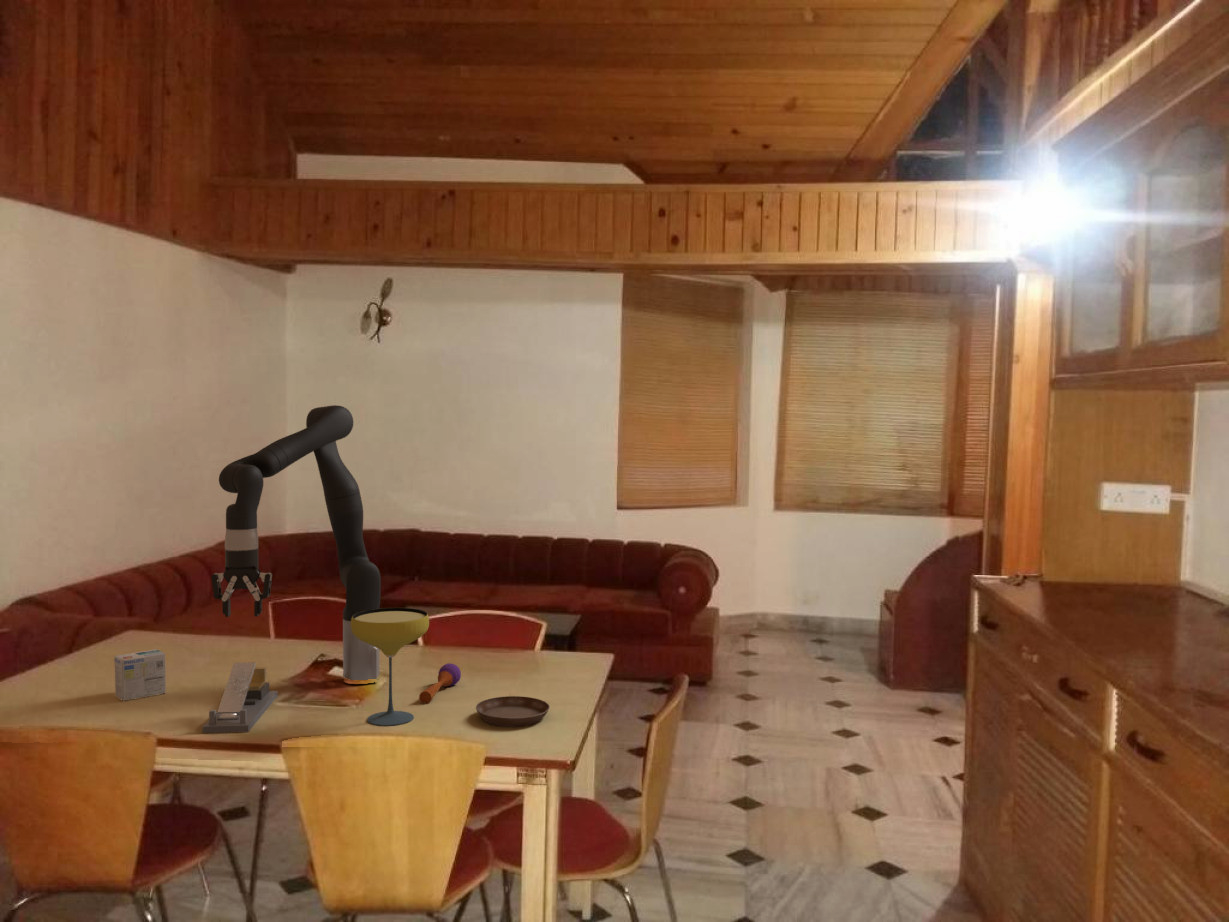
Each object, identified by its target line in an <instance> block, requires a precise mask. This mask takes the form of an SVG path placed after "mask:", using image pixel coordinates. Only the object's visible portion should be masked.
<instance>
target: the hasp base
mask: <svg viewBox="0 0 1229 922" xmlns="http://www.w3.org/2000/svg"><path fill="white" fill-rule="evenodd" d="M277 698H278V690H270V682H266V681H265V685H264V686H263V687H262V688H261V689H260V690H258V691H248V692H247V695H246V699H245V702H244V705H243V708H242V709H241V710H240V715H239V718H238V720H222V721H217V712H218V710H216V709H210V710H209V711H208V720H207V721H206V722H205V723H204V724H203V726H202V734H215V733H216V734H218V733H219V734H220V733H223V734H224V733H248V732H249V731H251V729H252V728H253V727H254V725H256V723H257V722H258V721H259V720H260V718H261V717H262V716H263V715H264V714H265V713H266V711H267V710H268V709H269V708H270V706H271V705H272V704H273V702H275V700H276V699H277Z"/></svg>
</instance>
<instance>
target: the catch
mask: <svg viewBox="0 0 1229 922" xmlns="http://www.w3.org/2000/svg"><path fill="white" fill-rule="evenodd" d="M266 679H267V667H266V666H264V667H262V666H261V667H259V666H257V667H256V666H255V669H254V673H253V676H252V679H251V682H250V686H249V689H248V691H258V690H260V689H261V688H262V687H263V686H264V685H265V682H266Z"/></svg>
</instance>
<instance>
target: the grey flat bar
mask: <svg viewBox="0 0 1229 922" xmlns="http://www.w3.org/2000/svg"><path fill="white" fill-rule="evenodd" d="M256 666H257V665H256V662H255V661H254V662H250V661H249V662H246V661H245V662H233V665H232V666H231V667H232V668H231V670H230V673H229V676H228V680H227V682H226V685H225V688H224V691H223V694H222V697H221V700H220V703H219V706H218V709H217V711H218V712H217V711H216V712H217V721H222V720H238V718H239V715H240V710H241V709H242V708H243V705H244V702H245V699H246V695H247V692H248V689H249V686H250V682H251V679H252V676H253V673H254V669H255V667H256Z"/></svg>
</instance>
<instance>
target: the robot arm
mask: <svg viewBox="0 0 1229 922" xmlns="http://www.w3.org/2000/svg"><path fill="white" fill-rule="evenodd" d="M305 426H306V427H305V428H303V429H301V430H299V431H297V432H295V433H291V434H289V435H286V436H284V437H282V438H279V439H276V440H275V441H273V442H271V443H270V444H268V445H266V446H265V447H263V448H261V449H260V450H258V451H257V452H255V453H252V454H250V455H247V456H245V457H242V458H240V459H236V460H234V461H231V462H230V463H228V464H227V465H226V466H225V467H223V469H222V470H221V471H220V473H219V477H218V483H219V486H220V488H221V489H222V490H223V491H225V492H226V493H227V492H228V493H230V494H236V499H235V502H234V503H231V504H230V505H228V506H227V507H226V510H225V533H224V534H225V535H224V561H225V562H224V567H225V568H224V571H223V572H220V573H218V572H215V573H213V574H212V575H211V576H210V577H211V585H212V592H213V598H214V599H215V600H217V599H218V600H220V601H221V602H222V614H223V615H224V617H226V618H228V617H230V616H232V615H231V614H232V613H231V612H232V609H231V607H232V606H231V605H232V604H231V602H232V601H231V599H230V598H231V597H232V595H233V592H234V591H235V590H248V591H249V592H250V594H251V595H252V596H253V598H254V601H253V602H254V603H253V605H254V606H253V609H254V611H253V612H254V617H258V616H260V614H262V612H263V601H264V599H267V598H269V597H270V596H271V590H272V581H273V573H272V572H271V571H269V572H261V571H260V568H259V564H260V563H259V561H260V560H259V533H258V532H259V531H258V508H259V505H260V501H261V497H262V493H263V489H264V479H267V478H272V477H273V476H276V475H277V474H279V473H280V472H282V471H283V470H285V469H286V468H288V467H289V466H292V465H293V464H294V463H295V462H298V461H299V460H300V459H302V458H304V457H306V456H307V455H309V454H311V453H313V454H314V456H315V460H316V464H317V468H318V472H319V476H320V480H321V481H320V482H321V485H322V490H323V495H324V502H325V506H326V510H327V514H328V517H329V522H330V526H331V530H332V533H333V537H334V541H335V544H336V548H337V549H336V550H337V559H338V568H339V579H340V581H341V583H342V585H343V586H344V588H345V604H344V605H345V606H344V608H343V610H342V666H343V667H342V669H343V671H342V678H343V677H345V678H347V679H350V680H368V679H377V677H378V675H379V676H380V649H379V648H377V647H375V646H372V645H370V644H368V643H365V642H363V641H361V640H360V639H358V638H357V637H356V636H355V635H354V634H353V633H352V629H351V619H352V616H353V615H354V614H356V613H359V612H362V611H366V610H372V609H381V608H380V606H381V594H382V593H381V591H382V590H381V589H382V588H381V587H382V585H381V584H382V581H381V580H382V578H381V572H380V570H379V568H378V567H377V565H376V564H374V563H373V562H372V561H370V559H369V556H368V554H367V549H366V545H365V541H364V537H363V536H364V534H363V532H364V531H363V530H364V506H363V500H362V497H361V492H360V488H359V485H358V482H357V480H356V479H355V477H354V476H353V474H352V473H351V471H350V470H349V468H348V467H347V466H346V465H345V463H344V462H343V460H342V458H341V455H340V454H339V453H340V452H339V450H338V447H337V446H338V445H337V441H339V440H342V439H345V438H346V437H347V436H349V435H350V434H351V432H352V431H353V428H354V417H353V414H352V412H350V410H349V409H348V408H347V407H344V406H342V405H327V406H319V407H318V406H317V407H314V408H312V409H311V410H310V411H309V412H308V413H307V416H306V422H305ZM259 578H260V579H261V581H262V582H263V589H262V593H261V591H260V588H259V586H258V584H257V581H258V580H259ZM223 579H224V580H225V581H226V582H227V584H228V585H227V586H226V588H225V590H224V593H223V591H222V585H221V582H222V581H223Z"/></svg>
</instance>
